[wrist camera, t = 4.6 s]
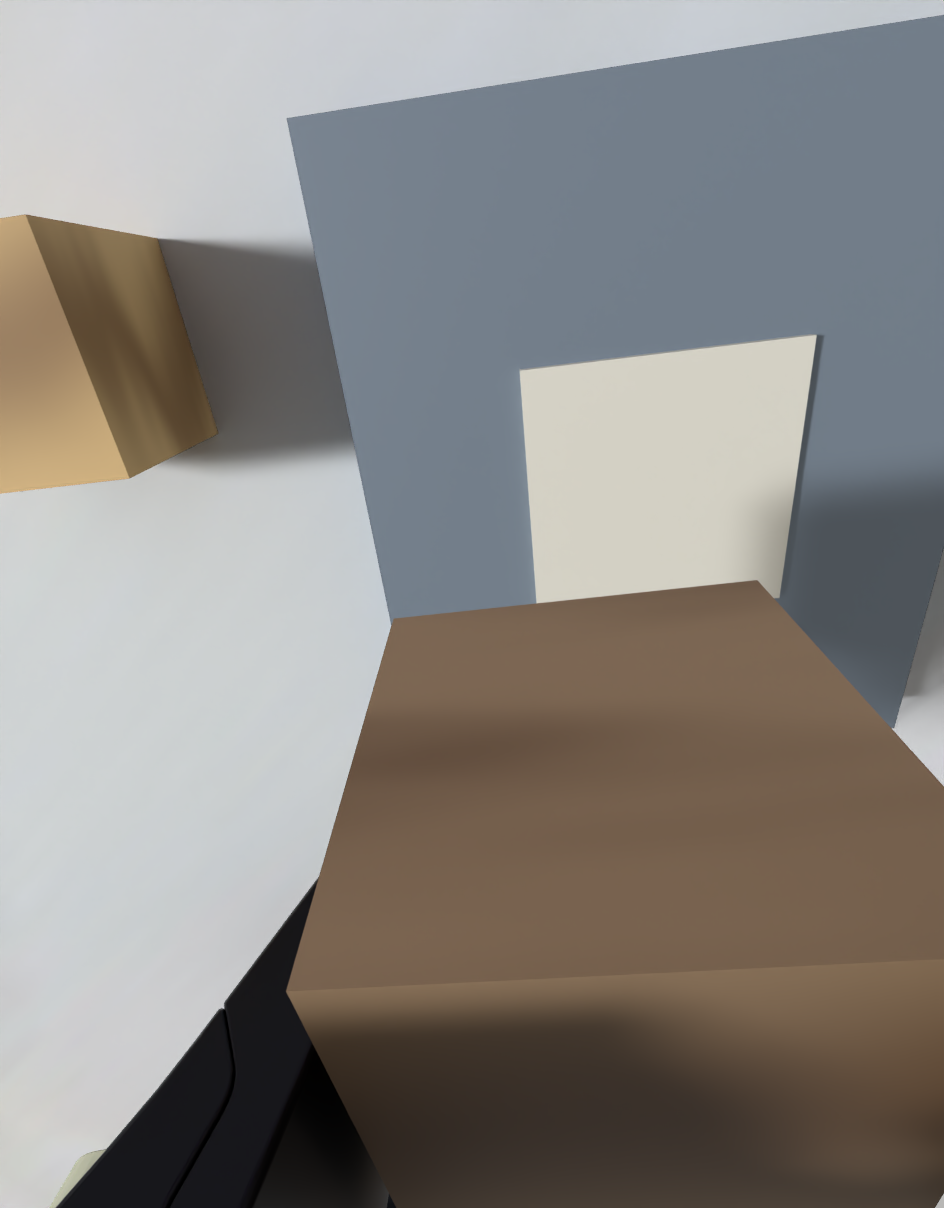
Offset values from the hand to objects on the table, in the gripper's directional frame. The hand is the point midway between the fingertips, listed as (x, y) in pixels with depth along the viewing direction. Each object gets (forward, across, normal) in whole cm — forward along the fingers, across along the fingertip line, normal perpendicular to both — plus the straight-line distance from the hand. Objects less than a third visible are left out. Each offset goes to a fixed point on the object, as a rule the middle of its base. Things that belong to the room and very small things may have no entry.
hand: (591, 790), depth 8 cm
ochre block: (+12, +12, -6) cm, 18 cm away
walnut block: (+1, 0, 0) cm, 1 cm away
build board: (+12, -3, -1) cm, 12 cm away
